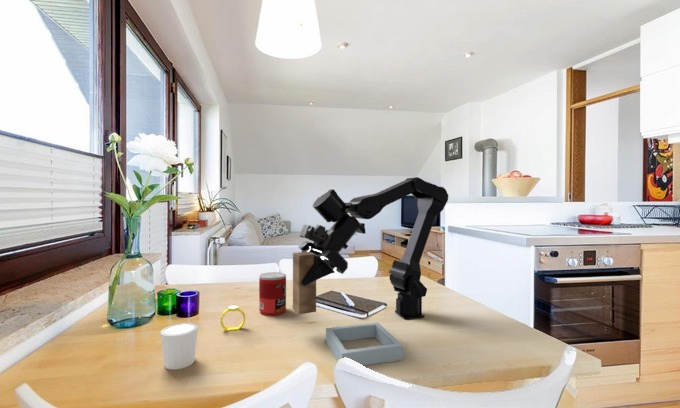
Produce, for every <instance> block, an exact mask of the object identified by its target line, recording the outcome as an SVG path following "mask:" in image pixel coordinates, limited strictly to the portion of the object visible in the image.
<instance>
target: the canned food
mask: <svg viewBox="0 0 680 408" xmlns="http://www.w3.org/2000/svg"><path fill="white" fill-rule="evenodd" d="M258 279H259V281H258V284H259V285H258V289H259V291H258V299H259V300H258V302H259V303H258V304H259V307H258V308H259V309H258V310H259V313H260V314H261V315H263V316H279V315H280V316H281V315H282V314H284V313H285V312H286V309H287V275H286V273H283V272H280V271H278V272H277V271H275V272H274V271H273V272H271V271H270V272H264V273H261V274H259V277H258Z"/></svg>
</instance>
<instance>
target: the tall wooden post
mask: <svg viewBox="0 0 680 408" xmlns="http://www.w3.org/2000/svg"><path fill="white" fill-rule="evenodd" d="M315 255H316V254H315ZM313 264H314V253H312V252H302V251H300V252H293V253H292V310H293V311H294V312H296V313H297V315H299V316H300V315H305V314H306V315H307V314H311V313H316V312H317V280H315V281H313V282H311V283H309V284H307V285H305V286H304V285H303V284H302V283H301V282H302V280H303V279H304V277H305V276H306V274H307V273H308V271H309V270H310V268H311V267H312V265H313Z"/></svg>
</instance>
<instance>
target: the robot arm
mask: <svg viewBox="0 0 680 408" xmlns="http://www.w3.org/2000/svg"><path fill="white" fill-rule="evenodd" d="M409 195H412V196H413V198H415V199H417V202H416V203H417V204H416V205H417V208H418V209H417V210H418V214H417V216H416V220H415V221H414V222H415V223H414V225H413V228H412V231H411V233H410V237H409V240H408V242H407V244H406V245H407V246H406V248H405V251H404V253H403V256H402V257H401V258H400V259H399V260H397V259H394V260H393V261H392V265H391V268H390V270H389V271H388V272H389V281H390V284H391V285H392V287H393V289H394V290H393V291H394V292H397V297H396V298H395V310H394V312H395V313H396V314H397V315H398V316H399V317H401V318H403V320H410V319H411V320H412V319H419V318H425V314H424V313H423V312H422V309H423V308H422V307H423V306H422V305H423V304H422V303H423V301H422V300H423V297H424V298H425V297H426V296H427V292H428V288H427V287H426V286H425V284H423V283H422V282H421V277H422V276H421V275H422V271H421V270H422V269H421V265H420V263H421V259H422V257H423V254H424V250H425V247H426V245H427V242H428V239H429V237H430V233H431V231H432V227H433V224H434V221H435V218H436V217H438V215H439V214H440V213H441V212H443V210H444V209H445V207H446V205H447V203H448V200H449V194H448V191H447V189H446V188H445V187H443V186H438V185H436V184H434V183H431V182H428V181H426V180H424V179H422V178H421V177H419V176H418V177H417V176H416V177H415V176H413V177H407V178H406V179H405V180H402V181H400V182H398V183H396V184H393V185H392V186H389V187H387V188H385V189H383V190H381V191H378V192H376V193H373V194H367V195H362V196H357V197H353V198H351V200H349V202H344V200H342V198H341V197H340V196H339V194H338V193H337V191H336V190H335V189H329V190H328V191H326V192H325V193H323V194H322V195H320V197H317V198H316V199H315V200H314V202H313V204H312V208H313V209H314V210H315V211H316V212H317V213H318V214H319V215H320V216H321V217H322V218H323V219H324V221H326V222H327V223H333V225H332V226H331V227H330V228H329V229H326V227H325V226H323V225H320V224H317V225H315V226H312V225H310V224H303V226H302V228H301V231H300V232H299V235H298V236H299V237H300V238H303V239H304V238H305V239H306V240H307V241H306V240H305V241H302V242H301V243H300V244H299V245H298V246H297V247H298V249H300V250H301V252H312V253H314V264H313V265H312V267H311V268H310V270H309V271H308V273H307V274H306V276H305V277H304V279H303V280H302V282H301V283H302V284H303V285H304V286H305V285H307V284H309V283H311V282H313V281H315V280H316V281H317V280H319V279H321V278H324V277H326V276H328V275H331V274H335V271H336V272H337V273H340V274H342V275H344V274H345V272H346V271H347V270H348V267H349V264H348V263H349V262H348V261H347V260H346V259H345V258H344V257H343V256H342V255H341V254H340V252H341V251H342V250H343V249H344V250H347V248H348V247H349V245H348V242H349V241H350V240H351V239H352V238H353V236H354V235H355V234H356V233H358V234H362V235H364V234H366V226H365V225H366V224H365V222H364V223H363V222H360V221H359V220H358V219H361V220H371V219H372V218H374V217H375V216H377V215H378V214H379V213H381V211H383V209H384V208H385V207H386V206H388V205H390V204H392V203H394V202H396V201H400V200H401V199H402V198H405V197H407V196H409ZM308 240H309V241H308ZM311 241H312V242H311ZM315 254H316V255H315ZM335 268H336V269H335ZM334 269H335V270H334Z"/></svg>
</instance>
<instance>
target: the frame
mask: <svg viewBox="0 0 680 408" xmlns="http://www.w3.org/2000/svg"><path fill="white" fill-rule="evenodd" d="M370 338H376V339H377V340H378V341H379V342H380V344H382V345H376V346H368V347H360V348H354V349H353V348H352V349H346V348H345V347H344V345H343V344H342V342H344V341H352V340H353V341H354V340H359V339H370ZM325 342H326V344H327V346H328V347H329V349H330V351H331V353H332V354H333V355H334V358H335V360H336V361H337V362H338V360H339V359H341V358H344V357H347V358H350V359H352V360H354V361H356V362H358V363H360V364H362V365H364V366H370V365H375V364H383V363H388V362H389V363H390V362H397V361H403V360H404V344H403V343H402V342H400V341H399V340H398V339H397V338H396V337H394V336H393V334H391V332H389V331H388V330H387V329H386V328H385V327H384V326H383V325H382V324H380V322H370V323H360V324H353V325H344V326H343V325H342V326H334V327H333V326H332V327H327V328H325Z"/></svg>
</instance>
